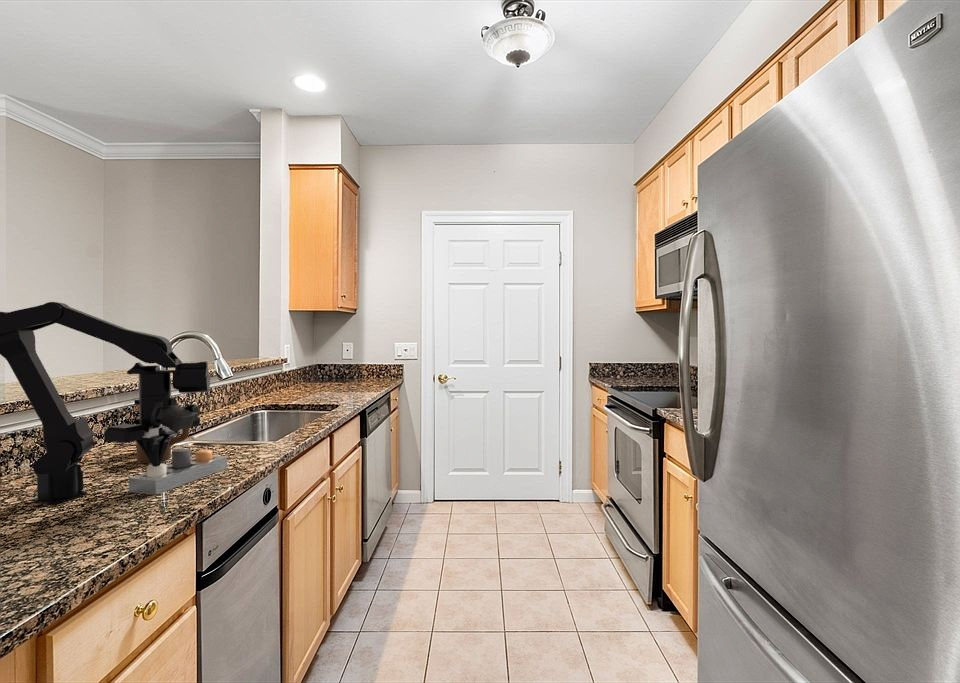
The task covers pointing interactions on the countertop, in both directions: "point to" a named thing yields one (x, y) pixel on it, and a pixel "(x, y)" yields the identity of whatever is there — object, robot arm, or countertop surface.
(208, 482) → the countertop surface
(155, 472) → the button ivory
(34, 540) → the countertop surface
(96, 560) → the countertop surface
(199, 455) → the button orange
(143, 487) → the button strip
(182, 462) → the button charcoal
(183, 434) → the mug
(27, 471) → the countertop surface
